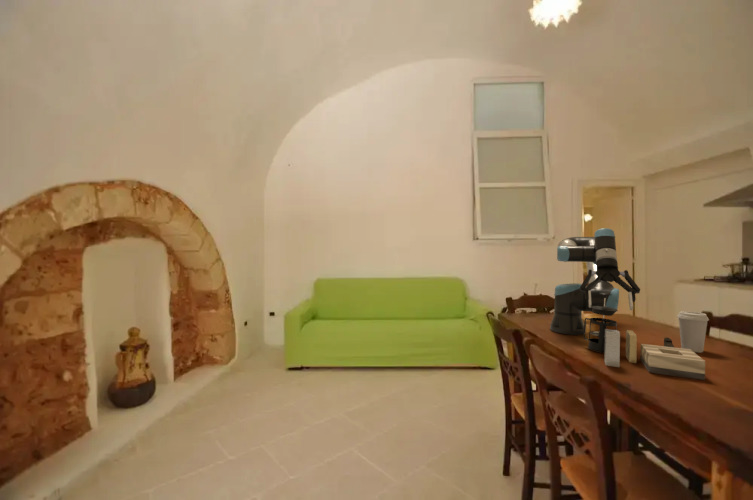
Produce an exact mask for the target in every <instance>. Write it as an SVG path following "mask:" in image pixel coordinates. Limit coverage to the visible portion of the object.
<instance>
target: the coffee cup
mask: <svg viewBox="0 0 753 500" xmlns="http://www.w3.org/2000/svg"><path fill="white" fill-rule="evenodd" d="M676 317H677V318H678V327H679V336H680V348H683V349H691V350H692V351H693V352H694V353H699V354H700V353H704V348H705V341H706V340H705V339H706V333H707V327H708V321H710V319H709V317H708V316H707V314H706V313H704V312H697V311H688V310H687V311H686V310H685V311H684V310H683V311H679V313H678V314H677V316H676Z"/></svg>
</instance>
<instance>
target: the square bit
mask: <svg viewBox="0 0 753 500" xmlns="http://www.w3.org/2000/svg"><path fill="white" fill-rule="evenodd" d="M620 346H621V331H619V330H617V329H608V328H606V329H605V353H604V356H603V357H604V359H603V360H604V365H605V366H607V367H615V368H620V366H621V365H620V360H621V359H620V358H621V357H620V356H621V355H620V353H621V352H620V351H621V349H620V348H621V347H620Z"/></svg>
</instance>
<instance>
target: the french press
mask: <svg viewBox="0 0 753 500" xmlns="http://www.w3.org/2000/svg"><path fill="white" fill-rule="evenodd" d="M599 294H602V295H604V306H591V308H592V312H591V313H592V314H595V315H601V316H602V317H591V318H589V317H585V318H584V321H583V323H584V334H583V340H584V341H588V345H587V348H588V350H591V351H593V352H597V353H601V354H605V329H607V327H615V330H617V326H618V322H617V321H615V320H613V319H608V318H605V316H606V317H607V316H608V317H612V316H614V315H615V313H616V312H618V309H614V308H610V307H605V298H606V296H607V295H611V294H609V293H599ZM587 320H588V321H589V332H588V333H589V335H588V338H586V331H585V329H586V324H587ZM592 324H594V325H598V327H599V329H598V331H597V330H592V331H591V328H592ZM591 336H593V337H594V336H595V338H593V337H592V338H591ZM596 337H597V338H596Z"/></svg>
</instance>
